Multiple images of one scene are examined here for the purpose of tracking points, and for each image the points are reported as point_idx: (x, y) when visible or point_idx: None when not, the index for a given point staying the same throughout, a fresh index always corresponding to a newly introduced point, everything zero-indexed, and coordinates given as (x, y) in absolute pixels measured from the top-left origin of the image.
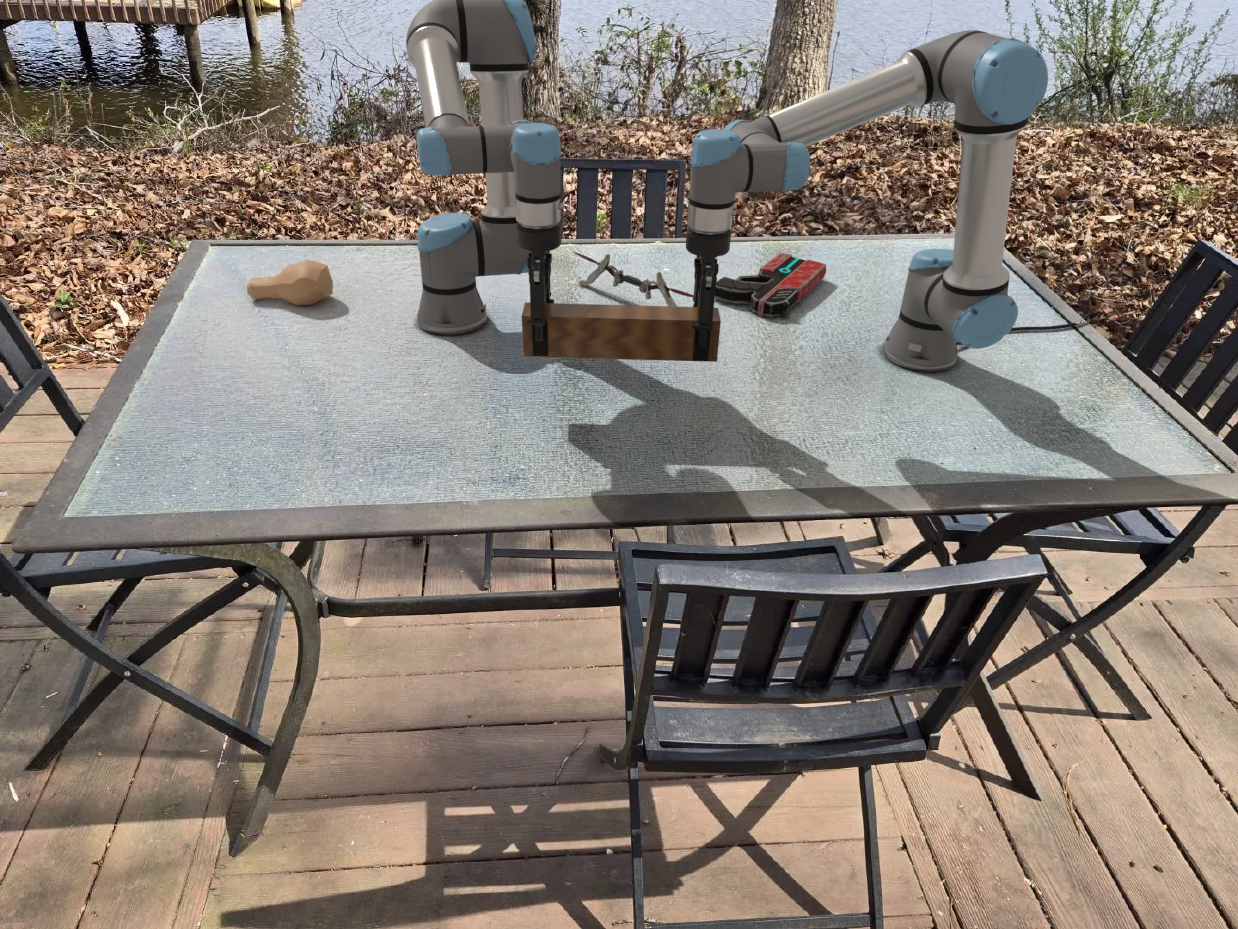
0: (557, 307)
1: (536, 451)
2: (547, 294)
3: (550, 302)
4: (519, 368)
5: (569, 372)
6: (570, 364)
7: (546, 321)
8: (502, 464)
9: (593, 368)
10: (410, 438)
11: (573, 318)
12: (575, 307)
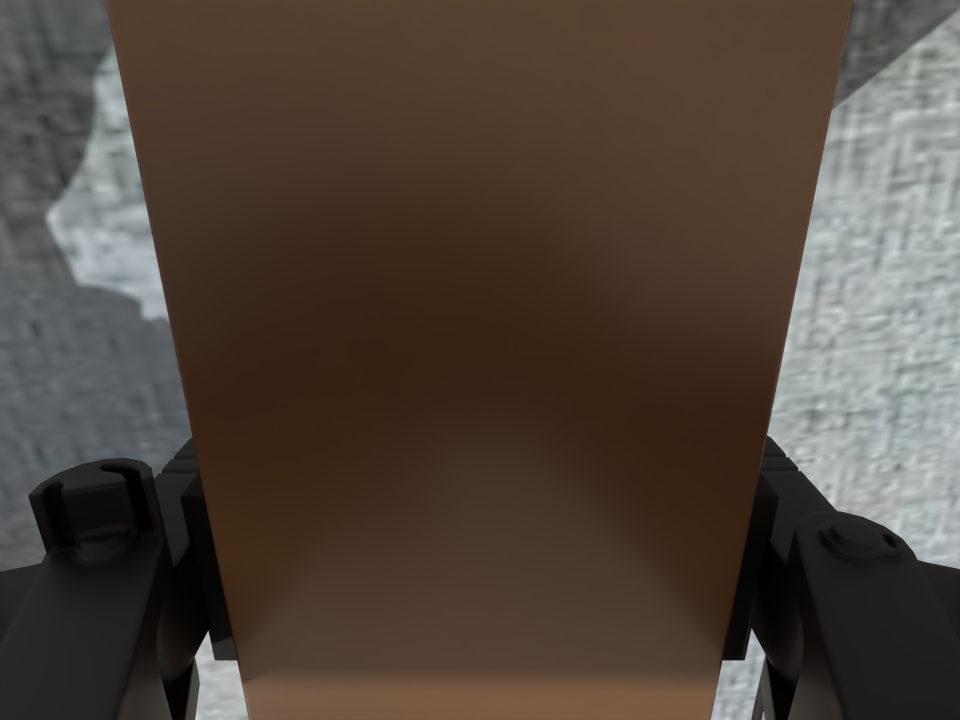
0: (365, 420)
1: (877, 259)
2: (132, 698)
3: (140, 525)
4: (158, 398)
5: (135, 158)
6: (44, 159)
7: (875, 531)
8: (946, 379)
9: (50, 18)
10: (722, 668)
11: (823, 86)
12: (320, 70)
